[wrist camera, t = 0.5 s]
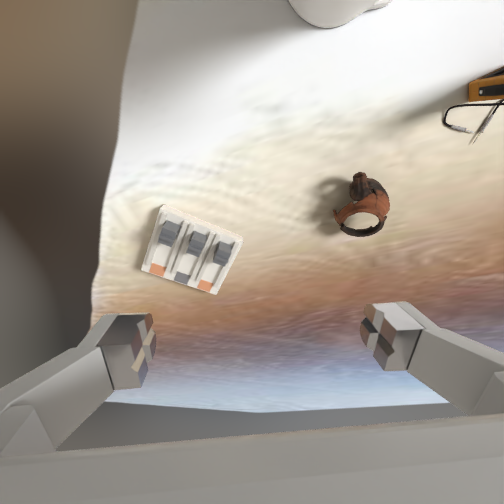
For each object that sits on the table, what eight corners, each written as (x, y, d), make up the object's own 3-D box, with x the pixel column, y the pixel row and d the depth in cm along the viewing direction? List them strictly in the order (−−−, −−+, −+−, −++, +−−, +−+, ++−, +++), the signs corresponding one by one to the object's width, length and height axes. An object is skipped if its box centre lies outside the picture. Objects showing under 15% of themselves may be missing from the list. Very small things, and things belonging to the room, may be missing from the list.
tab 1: (167, 220, 41) (161, 228, 38) (180, 225, 42) (175, 234, 38) (162, 234, 42) (156, 243, 39) (175, 239, 43) (170, 248, 40)
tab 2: (219, 240, 44) (218, 250, 40) (231, 245, 44) (231, 255, 41) (214, 253, 45) (212, 264, 42) (225, 257, 46) (224, 268, 42)
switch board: (163, 204, 42) (158, 209, 40) (242, 236, 47) (243, 243, 44) (145, 263, 48) (139, 272, 45) (216, 287, 52) (215, 297, 50)
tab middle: (194, 230, 43) (190, 240, 39) (206, 235, 43) (204, 245, 40) (189, 244, 44) (185, 254, 40) (201, 248, 44) (198, 259, 41)
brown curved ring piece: (389, 203, 46) (394, 235, 41) (339, 214, 51) (339, 243, 46) (381, 151, 38) (387, 183, 33) (323, 169, 43) (321, 199, 38)
